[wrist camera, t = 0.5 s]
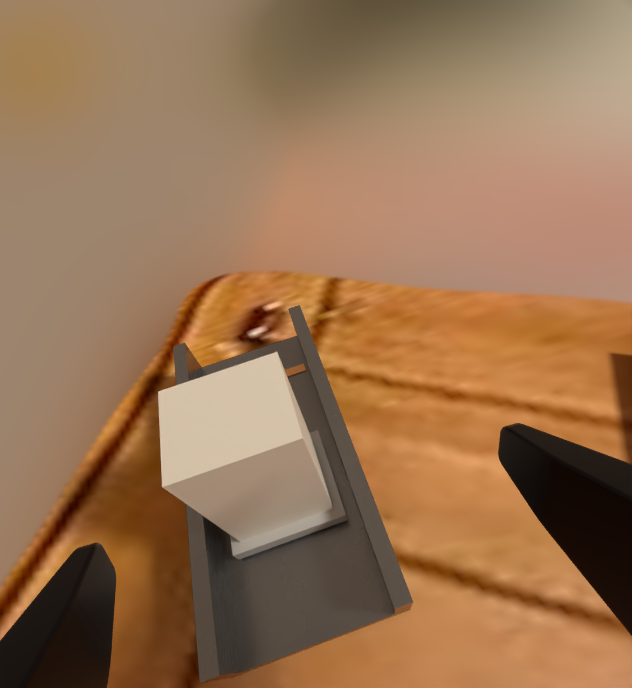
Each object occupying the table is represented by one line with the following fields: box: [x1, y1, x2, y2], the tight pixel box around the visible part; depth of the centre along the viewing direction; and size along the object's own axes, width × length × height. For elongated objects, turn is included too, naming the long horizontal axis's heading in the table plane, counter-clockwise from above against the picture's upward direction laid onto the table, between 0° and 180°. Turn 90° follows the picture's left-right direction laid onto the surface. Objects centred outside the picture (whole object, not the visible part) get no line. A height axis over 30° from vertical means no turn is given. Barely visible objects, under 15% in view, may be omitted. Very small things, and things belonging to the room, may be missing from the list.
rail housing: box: [173, 305, 413, 683], centre depth 23 cm, size 18×9×4 cm, turn 17°
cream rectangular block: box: [158, 352, 348, 559], centre depth 19 cm, size 5×6×10 cm
